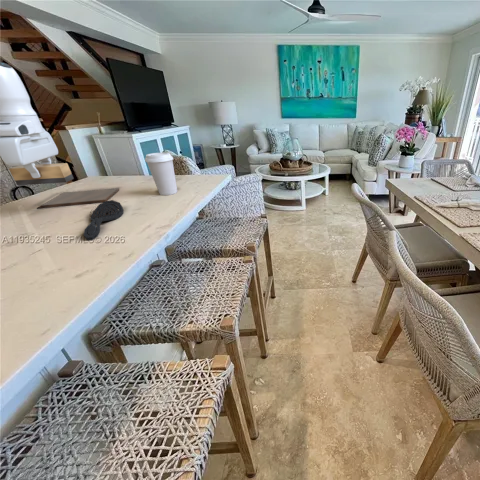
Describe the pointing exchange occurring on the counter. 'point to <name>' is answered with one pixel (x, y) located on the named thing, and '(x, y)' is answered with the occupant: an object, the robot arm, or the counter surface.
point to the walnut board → (80, 198)
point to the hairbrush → (102, 217)
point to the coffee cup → (162, 172)
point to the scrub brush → (48, 171)
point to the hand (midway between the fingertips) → (43, 175)
